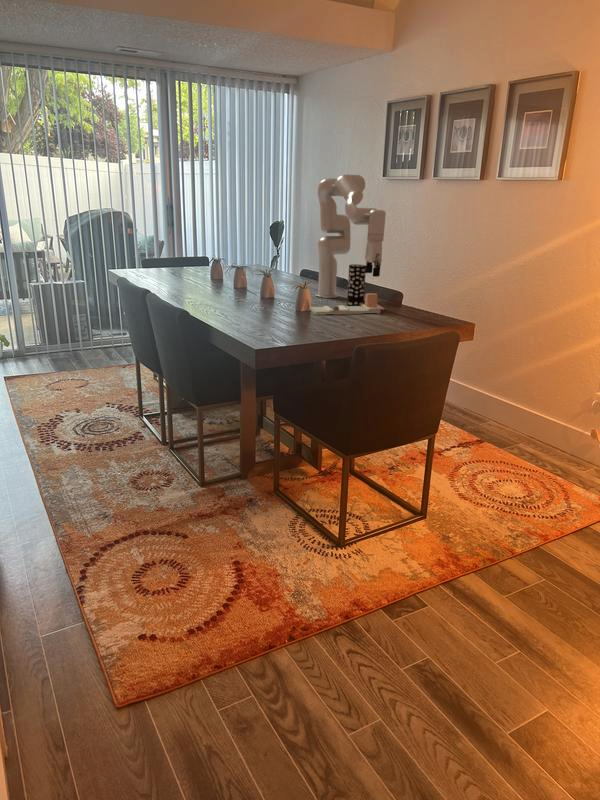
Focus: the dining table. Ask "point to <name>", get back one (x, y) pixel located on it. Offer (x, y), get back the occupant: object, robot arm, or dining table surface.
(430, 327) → the dining table surface
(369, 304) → the stub
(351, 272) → the white-spotted black cylinder
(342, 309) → the ticket board
